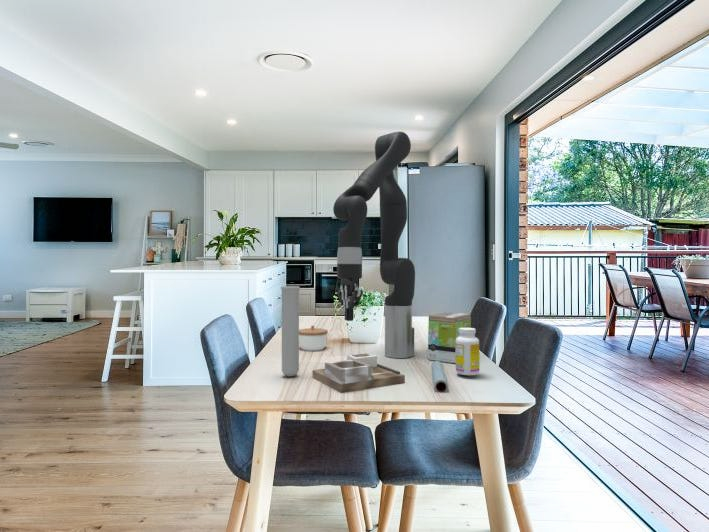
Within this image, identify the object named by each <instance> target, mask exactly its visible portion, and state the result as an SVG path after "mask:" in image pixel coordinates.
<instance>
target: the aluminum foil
mask: <svg viewBox="0 0 709 532" xmlns="http://www.w3.org/2000/svg"><path fill="white" fill-rule="evenodd" d="M430 366H431V367H430V368H431V375H432V381H433V388H434V390H435V392H436V393H447V392H448V390H449V384H448V381H447V377H446V373H445V372H446V371H445V368H444V366H443V363H442V361H433V362H432V363H431V365H430Z"/></svg>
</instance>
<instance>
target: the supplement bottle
mask: <svg viewBox="0 0 709 532" xmlns="http://www.w3.org/2000/svg"><path fill="white" fill-rule="evenodd" d="M476 332H477V329H476V328H474V327H471V328H459V334H460V336H459V337H457V338H456V363H455V371H456V373H457V374H459V375H462V376H463V375H464V376H476V375H479V374H480V339H479V338H478V337H476Z"/></svg>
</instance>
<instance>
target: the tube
mask: <svg viewBox="0 0 709 532" xmlns="http://www.w3.org/2000/svg"><path fill="white" fill-rule="evenodd" d="M280 289H281V372H282V374H283V376H286V377H293V376H297V375H298V374H299V371H300V345H299V330H300V289H301V287H300V286H296V285H295V286H293V285H291V286H290V285H289V286H287V285H286V286H281V287H280Z"/></svg>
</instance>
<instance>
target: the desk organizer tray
mask: <svg viewBox="0 0 709 532" xmlns="http://www.w3.org/2000/svg"><path fill="white" fill-rule="evenodd" d="M312 378H313V379H314V380H317V381H319V382H321V383H322V384H324V385H326V386H328V387H329V388H332V389H333V390H335V391H337V392H339V393H347V392H353V391H361V390H365V389H372V388H378V387H386V386H391V385H399V384H404V383H406V376H405V374H404V373H401V372H400V371H399V370H395V369H393V368H390V367H388V366H384V365H381V364H379V363H377V367H372V366H371V365H369V364H366V363H363V362H361V361H358V360H347V359H346V360H339V361H331V362H330V361H329V362H324V368H319V369H312Z"/></svg>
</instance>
